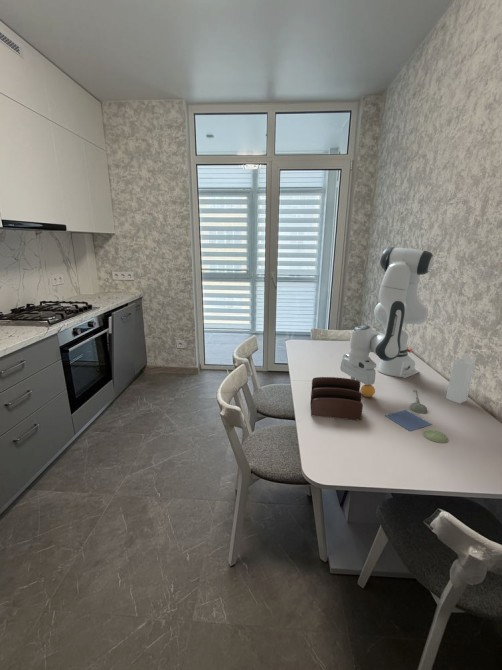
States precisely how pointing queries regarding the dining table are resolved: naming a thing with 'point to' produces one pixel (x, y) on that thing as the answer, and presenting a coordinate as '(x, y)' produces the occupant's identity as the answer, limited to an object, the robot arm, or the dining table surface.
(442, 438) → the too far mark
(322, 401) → the letter holder
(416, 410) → the soupspoon
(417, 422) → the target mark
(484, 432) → the dining table surface
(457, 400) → the milk
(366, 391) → the ball
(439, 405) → the dining table surface
